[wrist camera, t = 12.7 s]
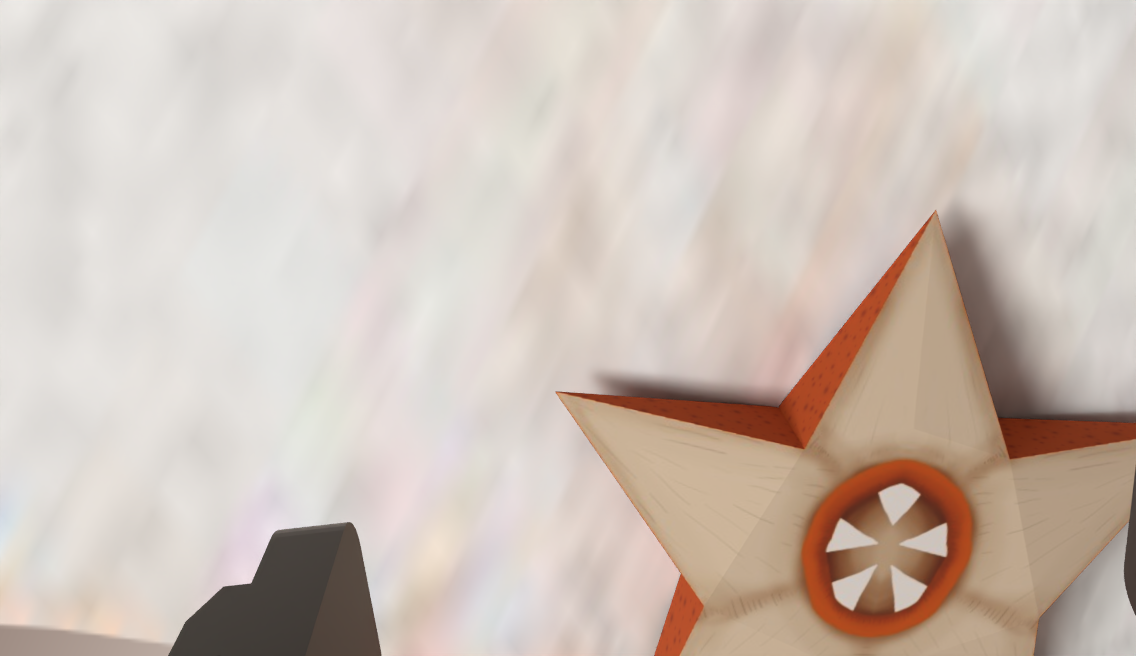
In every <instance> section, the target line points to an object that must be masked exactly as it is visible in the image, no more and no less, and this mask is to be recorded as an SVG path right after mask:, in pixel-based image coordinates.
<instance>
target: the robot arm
mask: <svg viewBox="0 0 1136 656" xmlns="http://www.w3.org/2000/svg"><path fill="white" fill-rule="evenodd" d="M1124 579H1125V586H1126V590H1127V594H1128V598H1129V601H1130V604H1131V606H1132V608H1133V611H1134V613H1135V615H1136V467H1135V475H1134V484H1133V493H1132V502H1131V510H1130V519H1129V528H1128V536H1127V545H1126V554H1125V562H1124ZM168 656H381V650H380V644H379V639H378V634H377V628H376V623H375V618H374V613H373V608H372V603H371V598H370V592H369V587H368V582H367V577H366V572H365V567H364V562H363V556H362V551H361V546H360V542H359V538H358V534H357V532H356V529H355V527H354V525H353V524H352V523H350V522H347V523H338V524H329V525H320V526H311V527H302V528H293V529H284V530H277V531H275V533H274V534H273V535H272V537H271V539H270V542H269V544H268V546H267V549H266V551H265V553H264V555H263V558H262V560H261V562H260V565H259V567H258V569H257V572H256V574H255V576H254V579H253V581H252V583H251V584H243V585H234V586H225V587H223V588H222V589H221V590H219V591H218V592H217V593H216V594H215V595H214V596H213V597H212V598H211V599H210V600H209V601H208V602H207V603H205V604H204V605H203V606H202V607H201V608H200V609H199V610H198V611H197V612H196V613H195V614H194V615H193V616H191V617H190V618H189V619H188V620H187V621H186V622H185V624H184V626H183V628H182V630H181V632H180V634H179V636H178V638H177V640H176V642H175V644H174V645H173V647H172V649H171V651H170V653H169V655H168Z"/></svg>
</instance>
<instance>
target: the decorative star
mask: <svg viewBox="0 0 1136 656" xmlns="http://www.w3.org/2000/svg"><path fill="white" fill-rule="evenodd" d="M555 392H556V391H555ZM556 394H557V395H558V397H559V398H560V399H561V401H562V402H563V404H564V405H565V407H566V408H567V410H568V411H569V412H570V414H571V415H572V417H573V418H574V420H575V421H576V423H577V424H578V425H579V427H580V428H581V430H582V431H583V433H584V434H585V436H586V437H587V438H588V440H589V441H590V443H591V444H592V446H593V447H594V449H595V450H596V451H597V453H598V454H599V456H600V457H601V459H602V460H603V461H604V463H605V464H606V466H607V467H608V469H609V470H610V472H611V473H612V474H613V476H614V477H615V479H616V480H617V482H618V483H619V485H620V486H621V487H622V489H623V490H624V492H625V493H626V495H627V496H628V498H629V499H630V500H631V502H632V503H633V505H634V506H635V508H636V509H637V511H638V512H639V513H640V515H641V516H642V518H643V519H644V521H645V522H646V523H647V525H648V526H649V528H650V529H651V531H652V532H653V534H654V535H655V536H656V538H657V539H658V541H659V542H660V544H661V545H662V547H663V548H664V549H665V551H666V552H667V554H668V555H669V557H670V558H671V560H672V561H673V562H674V564H675V565H676V567H677V568H678V570H679V571H680V573H681V575H680V578H679V581H678V584H677V587H676V590H675V593H674V597H673V600H672V603H671V606H670V609H669V612H668V615H667V618H666V621H665V624H664V627H663V630H662V633H661V636H660V639H659V643H658V646H657V649H656V652H655V655H654V656H1034V649H1035V642H1036V636H1037V629H1038V622H1039V618H1040V617H1041V616H1042V615H1043V614H1044V612H1045V611H1046V610H1047V609H1048V608H1049V607H1050V606H1051V605H1052V604H1053V603H1054V602H1055V601H1056V599H1057V598H1058V597H1059V596H1060V595H1061V594H1062V593H1063V592H1064V591H1065V590H1066V589H1067V588H1068V586H1069V585H1070V584H1071V583H1072V582H1073V581H1074V580H1075V579H1076V578H1077V577H1078V576H1079V575H1080V573H1081V572H1082V571H1083V570H1084V569H1085V568H1086V567H1087V566H1088V565H1089V564H1090V563H1091V561H1092V560H1093V559H1094V558H1095V557H1096V556H1097V555H1098V554H1099V553H1100V552H1101V551H1102V550H1103V548H1104V547H1105V546H1106V545H1107V544H1108V543H1109V542H1110V541H1111V540H1112V539H1113V538H1114V537H1115V535H1116V534H1117V533H1118V532H1119V531H1120V530H1121V529H1122V528H1123V527H1124V526H1125V525H1126V524H1127V522H1128V521H1129V519H1130V510H1131V502H1132V493H1133V484H1134V475H1135V467H1136V423H1121V422H1094V421H1067V420H1039V419H1012V418H998V417H997V414H996V411H995V407H994V404H993V400H992V397H991V394H990V390H989V387H988V384H987V380H986V377H985V373H984V370H983V367H982V363H981V360H980V357H979V353H978V350H977V346H976V343H975V340H974V336H973V333H972V330H971V326H970V323H969V319H968V316H967V313H966V309H965V306H964V303H963V299H962V296H961V292H960V289H959V286H958V282H957V279H956V276H955V272H954V269H953V265H952V262H951V259H950V255H949V252H948V249H947V245H946V242H945V238H944V235H943V232H942V228H941V225H940V222H939V218H938V215H937V211H936V210H935V212H934V213H933V214H932V215H931V217H930V218H929V219H928V220H927V222H926V223H925V224H924V225H923V227H922V228H921V229H920V230H919V232H918V233H917V234H916V235H915V237H914V238H913V239H912V240H911V242H910V243H909V244H908V245H907V247H906V248H905V249H904V250H903V252H902V253H901V254H900V255H899V257H898V258H897V259H896V260H895V262H894V263H893V264H892V265H891V267H890V268H889V269H888V270H887V272H886V273H885V274H884V275H883V277H882V278H881V279H880V280H879V282H878V283H877V284H876V285H875V287H874V288H873V289H872V290H871V292H870V293H869V294H868V295H867V297H866V298H865V299H864V300H863V302H862V303H861V304H860V305H859V307H858V308H857V309H856V310H855V312H854V313H853V314H852V315H851V317H850V318H849V319H848V320H847V322H846V323H845V324H844V325H843V327H842V328H841V329H840V330H839V332H838V333H837V334H836V335H835V337H834V338H833V339H832V340H831V342H830V343H829V344H828V345H827V347H826V348H825V349H824V350H823V352H822V353H821V354H820V355H819V357H818V358H817V359H816V360H815V362H814V363H813V364H812V365H811V367H810V368H809V369H808V370H807V372H806V373H805V374H804V375H803V377H802V378H801V379H800V380H799V382H798V383H797V384H796V385H795V387H794V388H793V389H792V390H791V392H790V393H789V394H788V395H787V397H786V398H785V399H784V400H783V402H782V403H781V405H780V406H779V408H778V407H770V406H756V405H742V404H727V403H713V402H699V401H685V400H670V399H656V398H642V397H627V396H613V395H599V394H584V393H570V392H556Z"/></svg>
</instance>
